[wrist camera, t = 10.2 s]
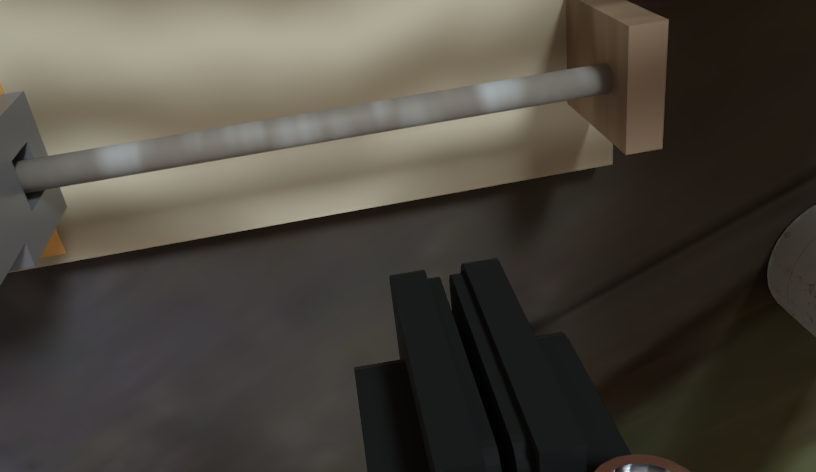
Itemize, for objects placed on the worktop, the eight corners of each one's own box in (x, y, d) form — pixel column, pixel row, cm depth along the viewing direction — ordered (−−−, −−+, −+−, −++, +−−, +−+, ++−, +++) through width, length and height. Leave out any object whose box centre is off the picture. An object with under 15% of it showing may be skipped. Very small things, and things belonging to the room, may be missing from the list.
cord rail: (-234, 17, 30) (-401, 78, 22) (602, -105, 33) (702, -87, 25) (-99, 277, 35) (-196, 395, 28) (600, 153, 38) (681, 229, 31)
